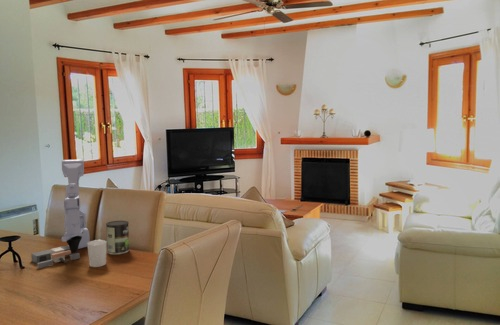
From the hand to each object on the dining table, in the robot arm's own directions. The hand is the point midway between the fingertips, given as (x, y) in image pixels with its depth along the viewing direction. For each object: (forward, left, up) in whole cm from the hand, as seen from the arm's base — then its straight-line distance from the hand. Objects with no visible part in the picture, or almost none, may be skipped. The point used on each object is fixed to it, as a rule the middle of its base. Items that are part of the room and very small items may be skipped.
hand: (74, 252), depth 181 cm
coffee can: (-19, +5, -3) cm, 20 cm away
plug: (+6, -1, -3) cm, 6 cm away
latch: (+6, 0, 0) cm, 6 cm away
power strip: (+7, -6, -3) cm, 9 cm away
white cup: (-3, +15, -3) cm, 15 cm away
